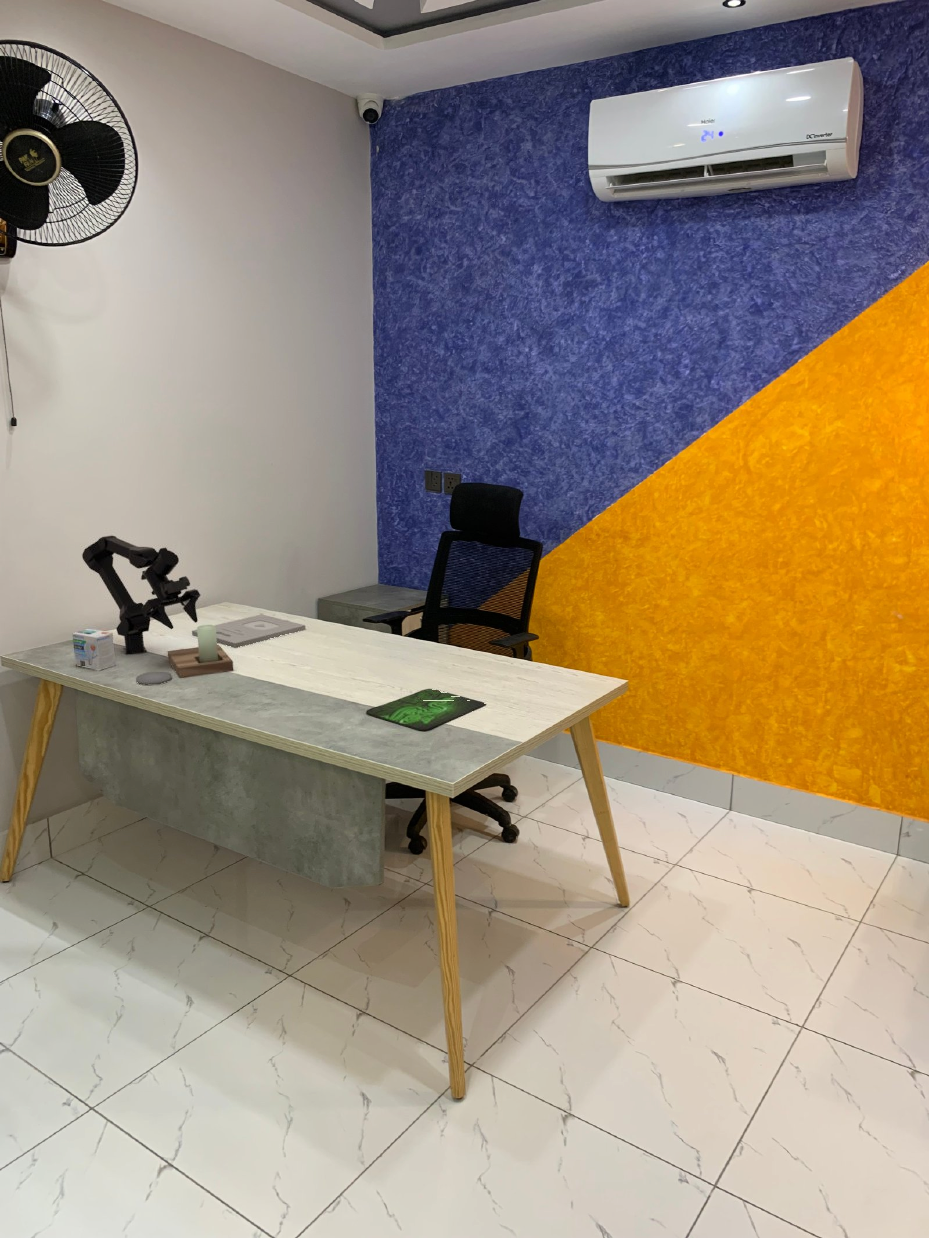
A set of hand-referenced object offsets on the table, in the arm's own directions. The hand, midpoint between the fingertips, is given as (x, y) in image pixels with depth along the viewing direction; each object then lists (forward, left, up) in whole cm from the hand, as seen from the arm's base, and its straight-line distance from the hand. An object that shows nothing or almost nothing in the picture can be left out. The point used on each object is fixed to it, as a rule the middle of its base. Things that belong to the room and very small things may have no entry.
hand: (184, 625), depth 281 cm
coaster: (+11, -12, -13) cm, 20 cm away
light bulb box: (-12, -26, -13) cm, 31 cm away
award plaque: (-29, +26, -13) cm, 41 cm away
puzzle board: (+2, +3, -13) cm, 13 cm away
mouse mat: (+69, +50, -13) cm, 87 cm away
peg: (+6, +5, -13) cm, 15 cm away
